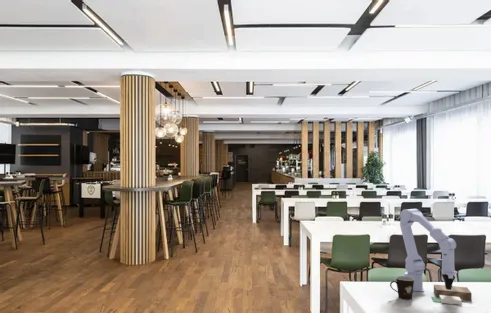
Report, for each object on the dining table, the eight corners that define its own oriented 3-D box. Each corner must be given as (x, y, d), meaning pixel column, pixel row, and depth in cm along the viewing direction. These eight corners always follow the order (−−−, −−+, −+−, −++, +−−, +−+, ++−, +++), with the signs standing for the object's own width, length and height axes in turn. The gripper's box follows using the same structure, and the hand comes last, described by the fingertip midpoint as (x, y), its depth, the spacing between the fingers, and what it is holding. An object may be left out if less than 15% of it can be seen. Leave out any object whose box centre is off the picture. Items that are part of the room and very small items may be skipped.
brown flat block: (436, 297, 200) (436, 289, 200) (433, 291, 210) (433, 284, 210) (471, 301, 195) (471, 292, 195) (467, 295, 205) (467, 287, 205)
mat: (433, 301, 194) (433, 301, 194) (431, 297, 201) (431, 296, 201) (458, 304, 190) (458, 303, 190) (455, 299, 197) (455, 298, 197)
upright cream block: (439, 294, 197) (439, 298, 197) (441, 298, 192) (441, 302, 192) (459, 296, 194) (459, 300, 194) (461, 300, 189) (461, 304, 189)
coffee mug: (413, 296, 202) (413, 277, 202) (415, 301, 194) (414, 281, 194) (389, 294, 206) (389, 275, 206) (390, 299, 197) (390, 279, 198)
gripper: (459, 266, 191) (460, 294, 190) (454, 260, 204) (454, 286, 204) (443, 265, 193) (444, 292, 192) (439, 258, 207) (439, 284, 206)
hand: (448, 289), depth 198 cm, fingers closed
